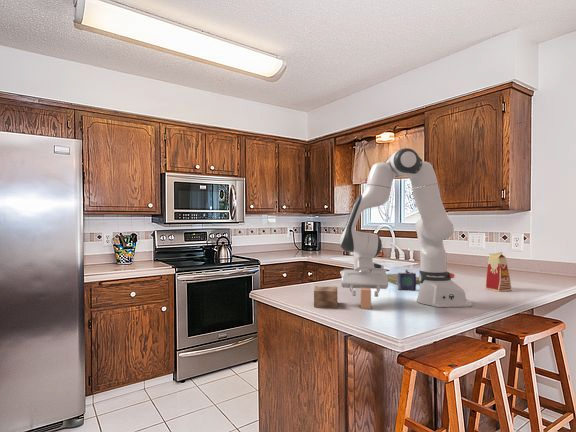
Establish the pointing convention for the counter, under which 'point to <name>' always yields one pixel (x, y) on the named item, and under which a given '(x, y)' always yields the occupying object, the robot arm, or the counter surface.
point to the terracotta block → (365, 298)
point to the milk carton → (498, 273)
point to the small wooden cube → (325, 297)
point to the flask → (407, 281)
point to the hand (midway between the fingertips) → (365, 295)
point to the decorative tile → (394, 279)
